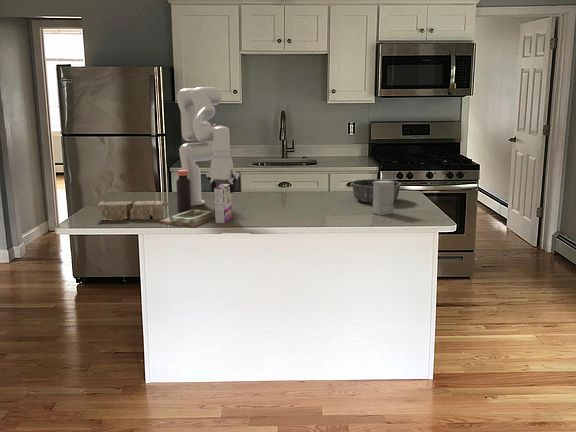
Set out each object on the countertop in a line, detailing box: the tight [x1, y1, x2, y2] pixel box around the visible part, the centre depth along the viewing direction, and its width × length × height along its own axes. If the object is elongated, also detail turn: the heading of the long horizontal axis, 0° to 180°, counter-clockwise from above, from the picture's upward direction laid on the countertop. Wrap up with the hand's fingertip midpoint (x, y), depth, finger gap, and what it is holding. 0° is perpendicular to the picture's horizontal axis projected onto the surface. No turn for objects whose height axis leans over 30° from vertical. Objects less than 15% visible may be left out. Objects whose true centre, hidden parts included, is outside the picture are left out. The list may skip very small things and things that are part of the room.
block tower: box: [97, 200, 164, 221], centre depth 294 cm, size 8×8×29 cm
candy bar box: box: [213, 183, 233, 225], centre depth 286 cm, size 11×5×16 cm, turn 168°
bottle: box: [175, 169, 192, 213], centre depth 309 cm, size 7×7×20 cm
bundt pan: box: [350, 178, 402, 204], centre depth 332 cm, size 26×26×10 cm
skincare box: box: [372, 180, 395, 216], centre depth 301 cm, size 8×7×16 cm
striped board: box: [159, 208, 215, 228], centre depth 289 cm, size 18×20×3 cm
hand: (223, 191), depth 285 cm, fingers open, 9 cm apart
